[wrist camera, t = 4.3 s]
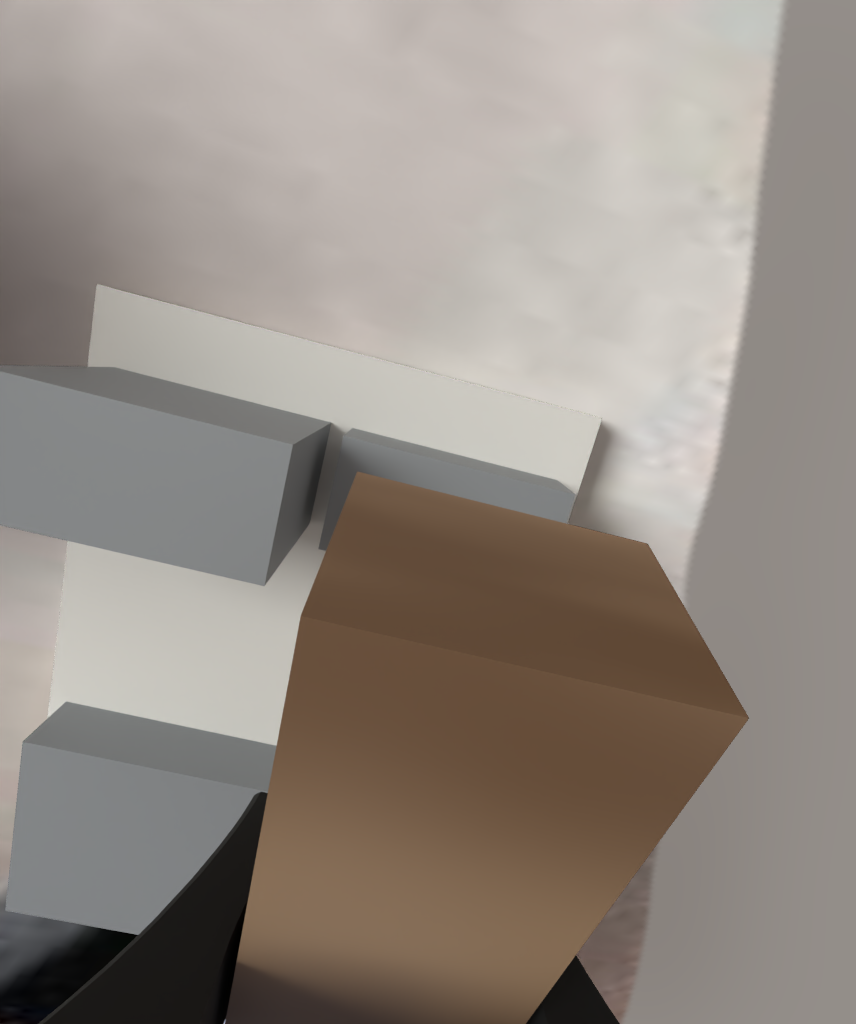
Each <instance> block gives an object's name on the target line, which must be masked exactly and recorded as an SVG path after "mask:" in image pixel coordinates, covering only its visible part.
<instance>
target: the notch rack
mask: <svg viewBox="0 0 856 1024" xmlns="http://www.w3.org/2000/svg"><path fill="white" fill-rule="evenodd" d="M601 420H602V418H601V417H597V416H593V415H589V414H586V413H582V412H578V411H574V410H571V409H567V408H563V407H559V406H555V405H552V404H548V403H544V402H540V401H537V400H533V399H529V398H525V397H522V396H518V395H514V394H510V393H506V392H503V391H499V390H495V389H491V388H488V387H484V386H480V385H476V384H472V383H469V382H465V381H461V380H457V379H454V378H450V377H446V376H442V375H439V374H435V373H431V372H427V371H423V370H420V369H416V368H412V367H408V366H405V365H401V364H397V363H393V362H389V361H386V360H382V359H378V358H374V357H371V356H367V355H363V354H359V353H355V352H352V351H348V350H344V349H340V348H337V347H333V346H329V345H325V344H322V343H318V342H314V341H310V340H306V339H303V338H299V337H295V336H291V335H288V334H284V333H280V332H276V331H272V330H269V329H265V328H261V327H257V326H254V325H250V324H246V323H242V322H239V321H235V320H231V319H227V318H223V317H220V316H216V315H212V314H208V313H205V312H201V311H197V310H193V309H189V308H186V307H182V306H178V305H174V304H171V303H167V302H163V301H159V300H156V299H152V298H148V297H144V296H140V295H137V294H133V293H129V292H125V291H122V290H118V289H114V288H110V287H106V286H103V285H99V284H97V285H96V294H95V303H94V311H93V320H92V329H91V338H90V347H89V356H88V364H87V367H80V366H24V365H0V525H1V526H6V527H10V528H14V529H19V530H23V531H27V532H32V533H36V534H40V535H45V536H49V537H53V538H58V539H62V540H66V541H67V550H66V559H65V568H64V577H63V585H62V594H61V603H60V612H59V621H58V630H57V638H56V647H55V656H54V665H53V674H52V683H51V691H50V700H49V709H48V718H47V720H46V721H44V722H43V723H42V724H41V725H40V726H39V727H38V728H37V729H36V730H35V731H34V732H33V733H32V734H31V735H29V736H28V737H27V738H26V739H25V740H24V741H23V744H22V754H21V763H20V773H19V783H18V793H17V802H16V812H15V822H14V832H13V841H12V851H11V861H10V870H9V880H8V890H7V900H6V909H5V911H11V912H16V913H22V914H27V915H33V916H38V917H44V918H49V919H55V920H60V921H66V922H71V923H77V924H82V925H88V926H93V927H99V928H104V929H110V930H115V931H121V932H126V933H131V934H137V935H139V934H140V933H141V932H142V931H143V930H144V929H145V928H146V927H147V926H148V925H149V924H150V923H151V922H152V921H153V920H154V919H155V918H156V917H157V916H158V915H159V914H160V912H161V911H162V910H163V909H164V908H165V907H166V906H167V905H168V904H169V903H170V902H171V901H172V899H173V898H174V897H175V896H176V895H177V894H178V893H179V892H180V891H181V890H182V889H183V888H184V887H185V885H186V884H187V883H188V882H189V881H190V880H191V879H192V878H193V876H194V875H195V874H196V873H197V872H198V871H199V869H200V868H201V867H202V866H203V865H204V863H205V862H206V861H207V860H208V859H209V857H210V856H211V855H212V854H213V853H214V851H215V850H216V849H217V848H218V846H219V845H220V844H221V843H222V841H223V840H224V839H225V837H226V836H227V835H228V833H229V832H230V831H231V830H232V828H233V827H234V825H235V824H236V823H237V821H238V820H239V818H240V817H241V816H242V814H243V813H244V811H245V809H246V808H247V806H248V805H249V803H250V801H251V800H252V798H253V796H254V795H255V794H257V793H259V792H265V793H268V789H269V784H270V778H271V773H272V768H273V762H274V757H275V751H276V746H277V741H278V735H279V730H280V724H281V719H282V714H283V708H284V703H285V698H286V692H287V687H288V681H289V676H290V671H291V665H292V660H293V654H294V649H295V644H296V638H297V633H298V627H299V622H300V617H301V614H302V611H303V609H304V606H305V603H306V601H307V598H308V596H309V593H310V591H311V588H312V586H313V583H314V580H315V578H316V575H317V573H318V570H319V568H320V565H321V563H322V560H323V558H324V555H325V552H326V550H327V547H328V545H329V542H330V540H331V537H332V535H333V532H334V529H335V527H336V524H337V522H338V519H339V517H340V514H341V512H342V509H343V507H344V504H345V501H346V499H347V496H348V494H349V491H350V489H351V486H352V484H353V481H354V478H355V476H356V473H357V471H358V472H362V473H366V474H370V475H374V476H378V477H382V478H386V479H390V480H394V481H398V482H402V483H406V484H410V485H414V486H418V487H422V488H426V489H430V490H434V491H438V492H442V493H446V494H450V495H454V496H458V497H462V498H466V499H470V500H474V501H478V502H482V503H486V504H490V505H494V506H498V507H502V508H506V509H510V510H514V511H518V512H522V513H526V514H530V515H534V516H538V517H542V518H546V519H550V520H554V521H558V522H562V523H566V524H568V522H569V519H570V516H571V513H572V509H573V506H574V503H575V500H576V497H577V494H578V491H579V488H580V485H581V482H582V479H583V476H584V473H585V470H586V466H587V463H588V460H589V457H590V454H591V451H592V448H593V445H594V442H595V439H596V436H597V433H598V430H599V427H600V423H601Z"/></svg>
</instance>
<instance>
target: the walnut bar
mask: <svg viewBox="0 0 856 1024" xmlns="http://www.w3.org/2000/svg"><path fill="white" fill-rule="evenodd" d="M748 719H749V717H748V715H747V714H746V712H745V710H744V709H743V707H742V705H741V704H740V702H739V700H738V698H737V697H736V695H735V693H734V691H733V690H732V688H731V686H730V685H729V683H728V681H727V679H726V678H725V676H724V674H723V672H722V671H721V669H720V667H719V666H718V664H717V662H716V660H715V659H714V657H713V655H712V654H711V652H710V650H709V648H708V647H707V645H706V643H705V642H704V640H703V638H702V637H701V635H700V633H699V631H698V630H697V628H696V626H695V624H694V623H693V621H692V619H691V617H690V616H689V614H688V612H687V611H686V609H685V607H684V605H683V604H682V602H681V600H680V598H679V597H678V595H677V593H676V592H675V590H674V588H673V586H672V585H671V583H670V581H669V580H668V578H667V576H666V574H665V573H664V571H663V569H662V568H661V566H660V564H659V562H658V561H657V559H656V557H655V555H654V554H653V552H652V550H651V549H650V547H649V545H648V544H646V543H642V542H638V541H634V540H630V539H626V538H622V537H618V536H614V535H610V534H606V533H602V532H598V531H594V530H590V529H586V528H582V527H578V526H574V525H570V524H566V523H562V522H558V521H554V520H550V519H546V518H542V517H538V516H534V515H530V514H526V513H522V512H518V511H514V510H510V509H506V508H502V507H498V506H494V505H490V504H486V503H482V502H478V501H474V500H470V499H466V498H462V497H458V496H454V495H450V494H446V493H442V492H438V491H434V490H430V489H426V488H422V487H418V486H414V485H410V484H406V483H402V482H398V481H394V480H390V479H386V478H382V477H378V476H374V475H370V474H366V473H362V472H358V471H357V473H356V476H355V478H354V481H353V484H352V486H351V489H350V491H349V494H348V496H347V499H346V501H345V504H344V507H343V509H342V512H341V514H340V517H339V519H338V522H337V524H336V527H335V529H334V532H333V535H332V537H331V540H330V542H329V545H328V547H327V550H326V552H325V555H324V558H323V560H322V563H321V565H320V568H319V570H318V573H317V575H316V578H315V580H314V583H313V586H312V588H311V591H310V593H309V596H308V598H307V601H306V603H305V606H304V609H303V611H302V614H301V617H300V622H299V627H298V633H297V638H296V644H295V649H294V654H293V660H292V665H291V671H290V676H289V681H288V687H287V692H286V698H285V703H284V708H283V714H282V719H281V724H280V730H279V735H278V741H277V746H276V751H275V757H274V762H273V768H272V773H271V778H270V784H269V789H268V795H267V800H266V805H265V811H264V816H263V822H262V827H261V832H260V838H259V843H258V849H257V854H256V859H255V865H254V870H253V876H252V881H251V886H250V892H249V897H248V903H247V908H246V913H245V919H244V924H243V930H242V935H241V940H240V946H239V951H238V957H237V962H236V967H235V973H234V978H233V984H232V989H231V994H230V1000H229V1005H228V1010H227V1016H226V1021H225V1024H526V1023H527V1021H528V1020H529V1019H530V1017H531V1016H532V1014H533V1013H534V1012H535V1010H536V1009H537V1008H538V1006H539V1005H540V1003H541V1002H542V1001H543V999H544V998H545V997H546V995H547V994H548V993H549V991H550V990H551V988H552V987H553V986H554V984H555V983H556V982H557V980H558V979H559V978H560V976H561V975H562V973H563V972H564V971H565V969H566V968H567V967H568V965H569V964H570V962H571V961H572V960H573V958H574V957H575V956H576V954H577V953H578V952H579V950H580V949H581V947H582V946H583V945H584V943H585V942H586V941H587V939H588V938H589V936H590V935H591V934H592V932H593V931H594V930H595V928H596V927H597V926H598V924H599V923H600V921H601V920H602V919H603V917H604V916H605V915H606V913H607V912H608V911H609V909H610V908H611V906H612V905H613V904H614V902H615V901H616V900H617V898H618V897H619V895H620V894H621V893H622V891H623V890H624V889H625V887H626V886H627V885H628V883H629V882H630V880H631V879H632V878H633V876H634V875H635V874H636V872H637V871H638V869H639V868H640V867H641V865H642V864H643V863H644V861H645V860H646V859H647V857H648V856H649V854H650V853H651V852H652V850H653V849H654V848H655V846H656V845H657V843H658V842H659V841H660V839H661V838H662V837H663V835H664V834H665V832H666V831H667V830H668V828H669V827H670V826H671V824H672V823H673V822H674V820H675V819H676V818H677V816H678V815H679V813H680V812H681V810H682V809H683V808H684V806H685V805H686V804H687V802H688V801H689V800H690V798H691V797H692V796H693V794H694V793H695V791H696V790H697V789H698V787H699V786H700V785H701V783H702V782H703V781H704V779H705V778H706V776H707V775H708V773H709V772H710V771H711V770H712V768H713V766H715V764H716V763H717V761H718V760H719V759H720V757H721V756H722V755H723V753H724V752H725V750H726V749H727V748H728V746H729V745H730V744H731V742H732V741H733V739H734V738H735V737H736V735H737V734H738V733H739V731H740V730H741V728H742V727H743V726H744V725H745V723H746V722H747V720H748Z"/></svg>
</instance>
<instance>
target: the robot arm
mask: <svg viewBox="0 0 856 1024" xmlns="http://www.w3.org/2000/svg"><path fill="white" fill-rule="evenodd" d="M267 795H268V793H265V792H259V793H257V794H255V795H254V796H253V798H252V800H251V801H250V803H249V805H248V806H247V808H246V809H245V811H244V813H243V814H242V816H241V817H240V818H239V820H238V821H237V823H236V824H235V825H234V827H233V828H232V830H231V831H230V832H229V833H228V835H227V836H226V837H225V839H224V840H223V841H222V843H221V844H220V845H219V846H218V848H217V849H216V850H215V851H214V853H213V854H212V855H211V856H210V857H209V859H208V860H207V861H206V862H205V863H204V865H203V866H202V867H201V868H200V869H199V871H198V872H197V873H196V874H195V875H194V876H193V878H192V879H191V880H190V881H189V882H188V883H187V884H186V885H185V887H184V888H183V889H182V890H181V891H180V892H179V893H178V894H177V895H176V896H175V897H174V898H173V899H172V901H171V902H170V903H169V904H168V905H167V906H166V907H165V908H164V909H163V910H162V911H161V912H160V914H159V915H158V916H157V917H156V918H155V919H154V920H153V921H152V922H151V923H150V924H149V925H148V926H147V927H146V928H145V929H144V930H143V931H142V932H141V933H140V934H139V935H138V936H137V937H136V938H135V939H134V940H133V941H132V942H131V943H130V944H129V945H127V946H126V947H125V948H124V949H123V950H122V951H121V952H120V953H119V954H118V955H117V956H116V957H115V958H114V959H113V960H112V961H110V962H109V963H108V964H107V965H106V966H105V967H104V968H103V969H102V970H101V971H99V972H98V973H97V974H96V975H95V976H94V977H93V978H91V979H90V980H89V981H88V982H87V983H86V984H85V985H83V986H82V987H81V988H80V989H79V990H78V991H77V992H75V993H74V994H73V995H72V996H71V997H70V998H69V999H67V1000H66V1001H65V1002H64V1003H63V1004H61V1005H60V1006H59V1007H58V1008H57V1009H55V1010H54V1011H53V1012H52V1013H51V1014H49V1015H48V1016H47V1017H46V1018H45V1019H43V1020H42V1021H41V1022H40V1023H38V1024H225V1021H226V1019H225V1018H226V1016H227V1010H228V1005H229V1000H230V994H231V989H232V984H233V978H234V973H235V967H236V962H237V957H238V951H239V946H240V940H241V935H242V930H243V924H244V919H245V913H246V908H247V903H248V897H249V892H250V886H251V881H252V876H253V870H254V865H255V859H256V854H257V849H258V843H259V838H260V832H261V827H262V822H263V816H264V811H265V805H266V800H267ZM526 1024H620V1023H619V1022H618V1021H617V1019H616V1018H615V1016H614V1015H613V1013H612V1012H611V1010H610V1009H609V1007H608V1006H607V1004H606V1003H605V1001H604V1000H603V998H602V996H601V995H600V993H599V992H598V990H597V989H596V987H595V985H594V984H593V982H592V981H591V979H590V978H589V976H588V974H587V973H586V971H585V969H584V968H583V966H582V964H581V963H580V961H579V959H578V958H577V956H575V957H574V958H573V960H572V961H571V962H570V964H569V965H568V967H567V968H566V969H565V971H564V972H563V973H562V975H561V976H560V978H559V979H558V980H557V982H556V983H555V984H554V986H553V987H552V988H551V990H550V991H549V993H548V994H547V995H546V997H545V998H544V999H543V1001H542V1002H541V1003H540V1005H539V1006H538V1008H537V1009H536V1010H535V1012H534V1013H533V1014H532V1016H531V1017H530V1019H529V1020H528V1021H527V1023H526Z"/></svg>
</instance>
